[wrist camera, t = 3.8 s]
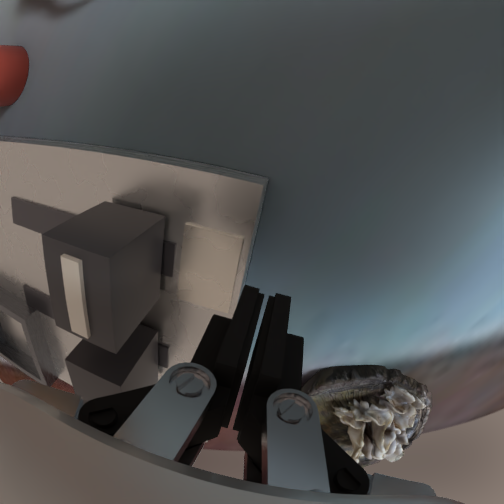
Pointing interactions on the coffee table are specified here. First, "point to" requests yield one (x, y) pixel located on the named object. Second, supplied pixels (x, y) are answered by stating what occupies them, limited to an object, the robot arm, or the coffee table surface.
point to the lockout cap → (12, 73)
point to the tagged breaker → (104, 272)
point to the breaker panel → (135, 196)
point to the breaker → (114, 365)
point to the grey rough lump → (370, 410)
